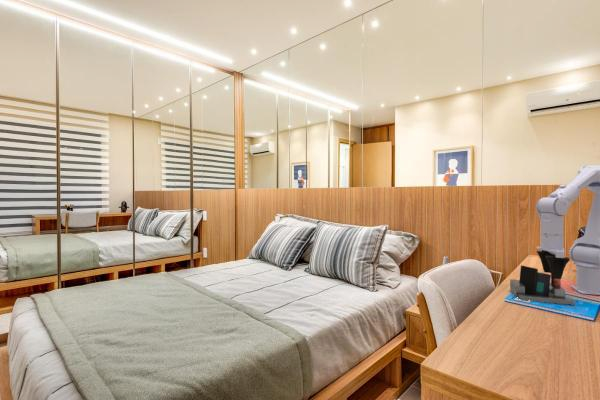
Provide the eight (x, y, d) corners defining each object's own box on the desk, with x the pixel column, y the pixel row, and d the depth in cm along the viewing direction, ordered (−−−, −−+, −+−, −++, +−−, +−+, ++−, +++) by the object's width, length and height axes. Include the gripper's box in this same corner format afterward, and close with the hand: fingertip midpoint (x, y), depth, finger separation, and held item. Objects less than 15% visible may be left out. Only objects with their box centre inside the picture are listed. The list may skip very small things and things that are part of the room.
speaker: (529, 300, 97) (531, 268, 98) (517, 295, 103) (519, 265, 103) (553, 303, 97) (555, 270, 97) (540, 297, 103) (542, 267, 103)
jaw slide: (556, 294, 102) (555, 265, 101) (565, 302, 94) (565, 271, 94) (546, 293, 103) (546, 265, 102) (555, 301, 95) (554, 270, 95)
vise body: (559, 293, 103) (559, 281, 103) (574, 305, 92) (574, 292, 92) (508, 288, 109) (508, 277, 109) (517, 299, 98) (517, 287, 98)
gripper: (530, 230, 107) (530, 269, 107) (544, 236, 93) (544, 280, 94) (555, 231, 104) (555, 270, 104) (573, 237, 91) (573, 282, 91)
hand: (552, 275), depth 99 cm, fingers open, 7 cm apart
